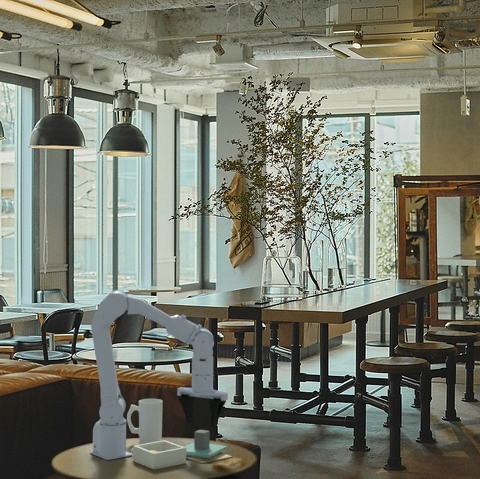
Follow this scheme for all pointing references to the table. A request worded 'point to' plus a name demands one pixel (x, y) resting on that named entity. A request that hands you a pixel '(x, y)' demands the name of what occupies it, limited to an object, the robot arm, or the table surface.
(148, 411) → the mug
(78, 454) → the table surface
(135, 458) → the storage box
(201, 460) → the cork mat
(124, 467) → the table surface
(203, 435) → the lid
